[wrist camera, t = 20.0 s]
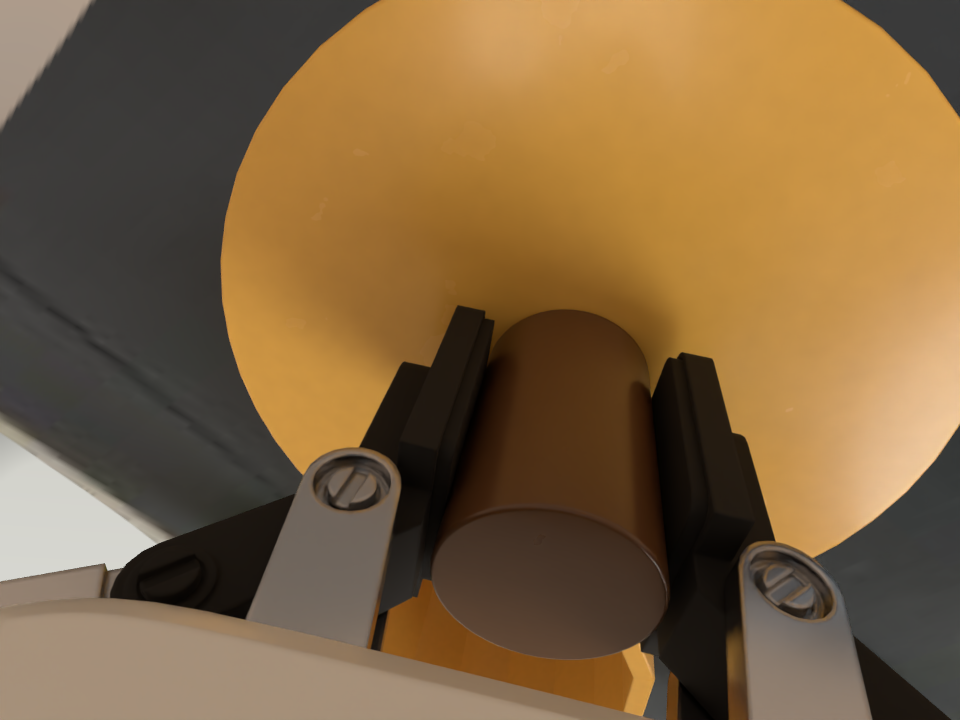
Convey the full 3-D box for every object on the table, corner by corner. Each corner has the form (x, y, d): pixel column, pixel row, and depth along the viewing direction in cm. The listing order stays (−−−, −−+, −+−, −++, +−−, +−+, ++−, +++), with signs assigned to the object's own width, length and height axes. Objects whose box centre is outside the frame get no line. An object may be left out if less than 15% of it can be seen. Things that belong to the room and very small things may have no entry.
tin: (656, 356, 30) (685, 591, 19) (617, 536, 38) (622, 776, 27) (392, 330, 32) (283, 531, 21) (406, 506, 40) (331, 721, 29)
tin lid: (1169, -55, 8) (2093, -69, 3) (816, 606, 16) (911, 901, 11) (171, -71, 10) (-271, -97, 5) (300, 526, 18) (181, 747, 13)
